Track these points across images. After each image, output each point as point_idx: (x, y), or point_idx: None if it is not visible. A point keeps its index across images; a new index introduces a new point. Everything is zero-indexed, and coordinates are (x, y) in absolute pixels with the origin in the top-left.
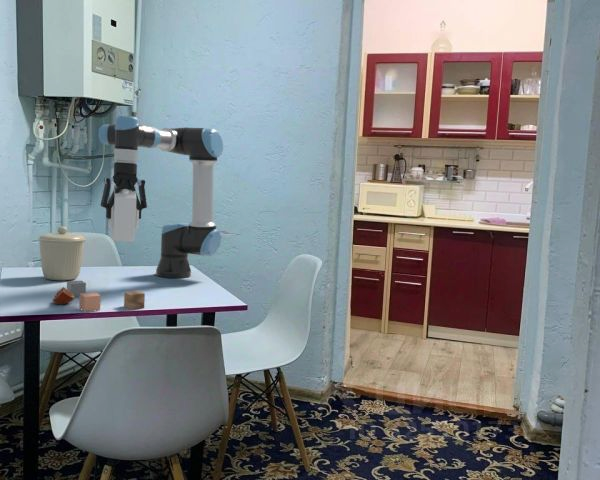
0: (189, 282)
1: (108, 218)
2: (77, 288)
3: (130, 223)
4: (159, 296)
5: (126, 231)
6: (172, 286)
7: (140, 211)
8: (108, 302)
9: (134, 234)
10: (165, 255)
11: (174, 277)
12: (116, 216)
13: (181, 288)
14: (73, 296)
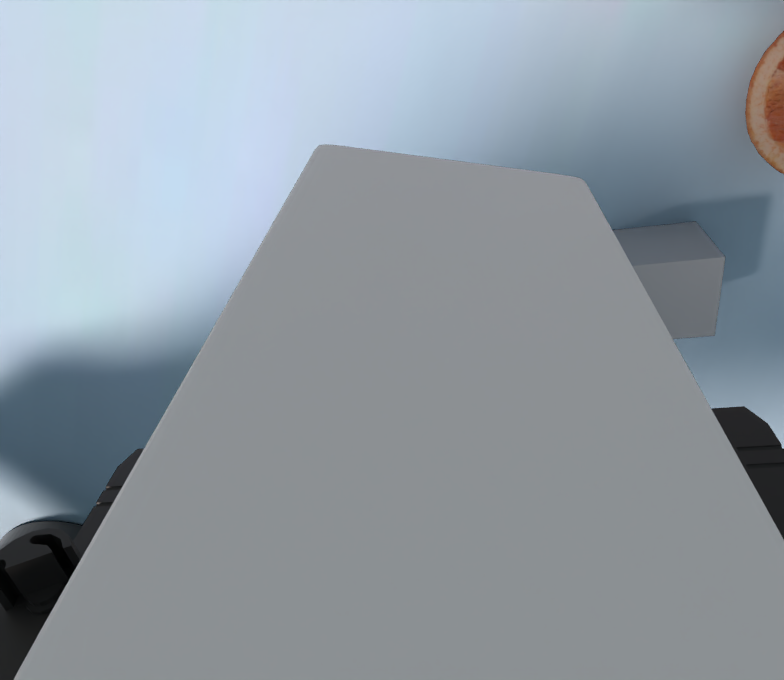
0: (4, 437)
1: (735, 407)
2: (674, 247)
3: (354, 251)
4: (195, 144)
5: (424, 204)
6: (98, 371)
7: (82, 554)
8: (534, 44)
9: (310, 175)
10: None
11: (75, 525)
12: (636, 351)
13: (51, 318)
14: (762, 78)
